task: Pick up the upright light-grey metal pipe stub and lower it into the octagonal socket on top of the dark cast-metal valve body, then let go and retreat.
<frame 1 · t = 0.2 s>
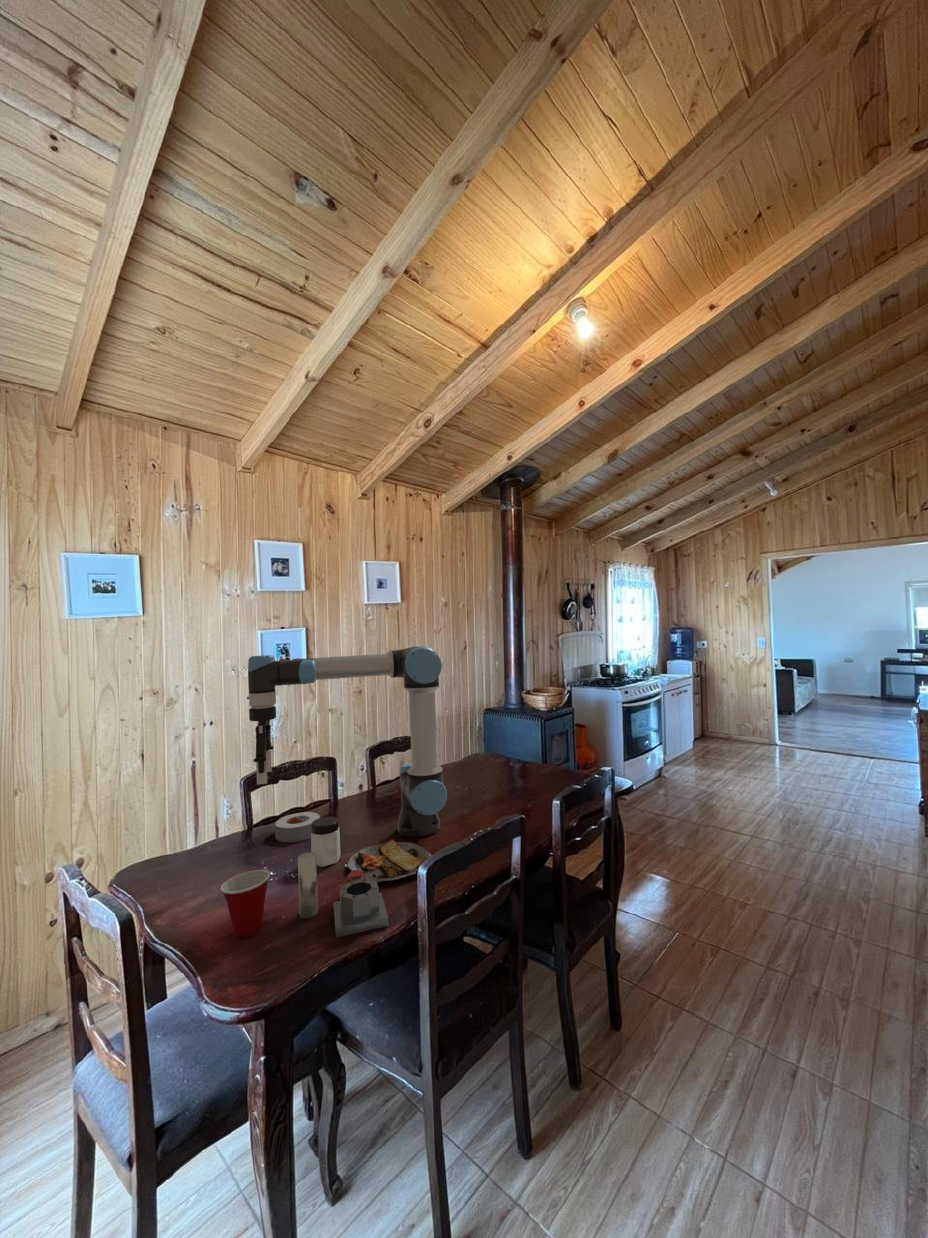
hand: (264, 777, 146), 28 cm above the table, fingers open, 13 cm apart
plastic cup: (246, 931, 115), on the table
food plate: (389, 866, 145), on the table
tape roll: (298, 834, 174), on the table
valve body: (360, 917, 118), on the table
pipe stub: (308, 913, 121), on the table
jar: (326, 861, 151), on the table
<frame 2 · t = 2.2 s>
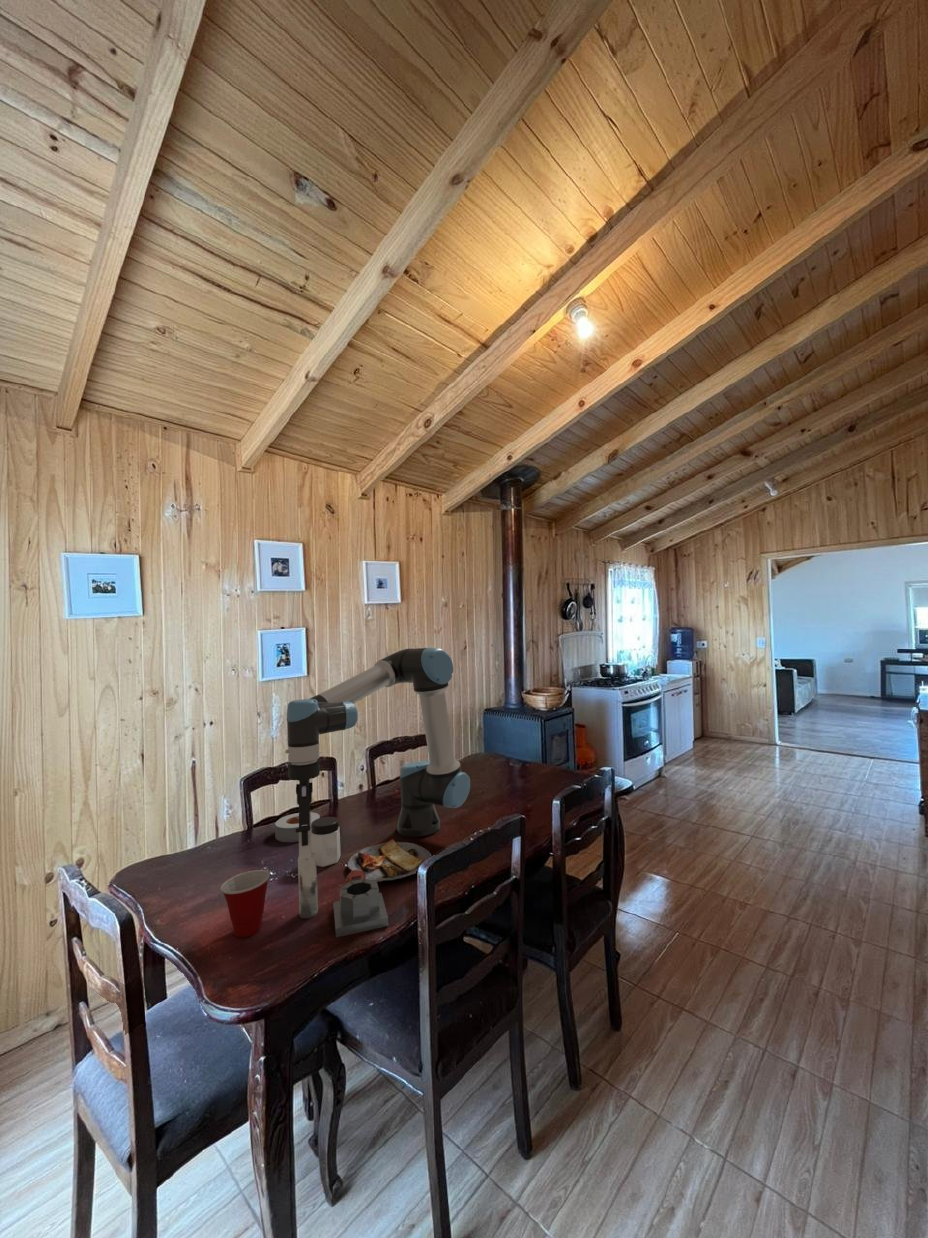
hand: (305, 847, 122), 16 cm above the table, fingers open, 13 cm apart
nothing on the table moved.
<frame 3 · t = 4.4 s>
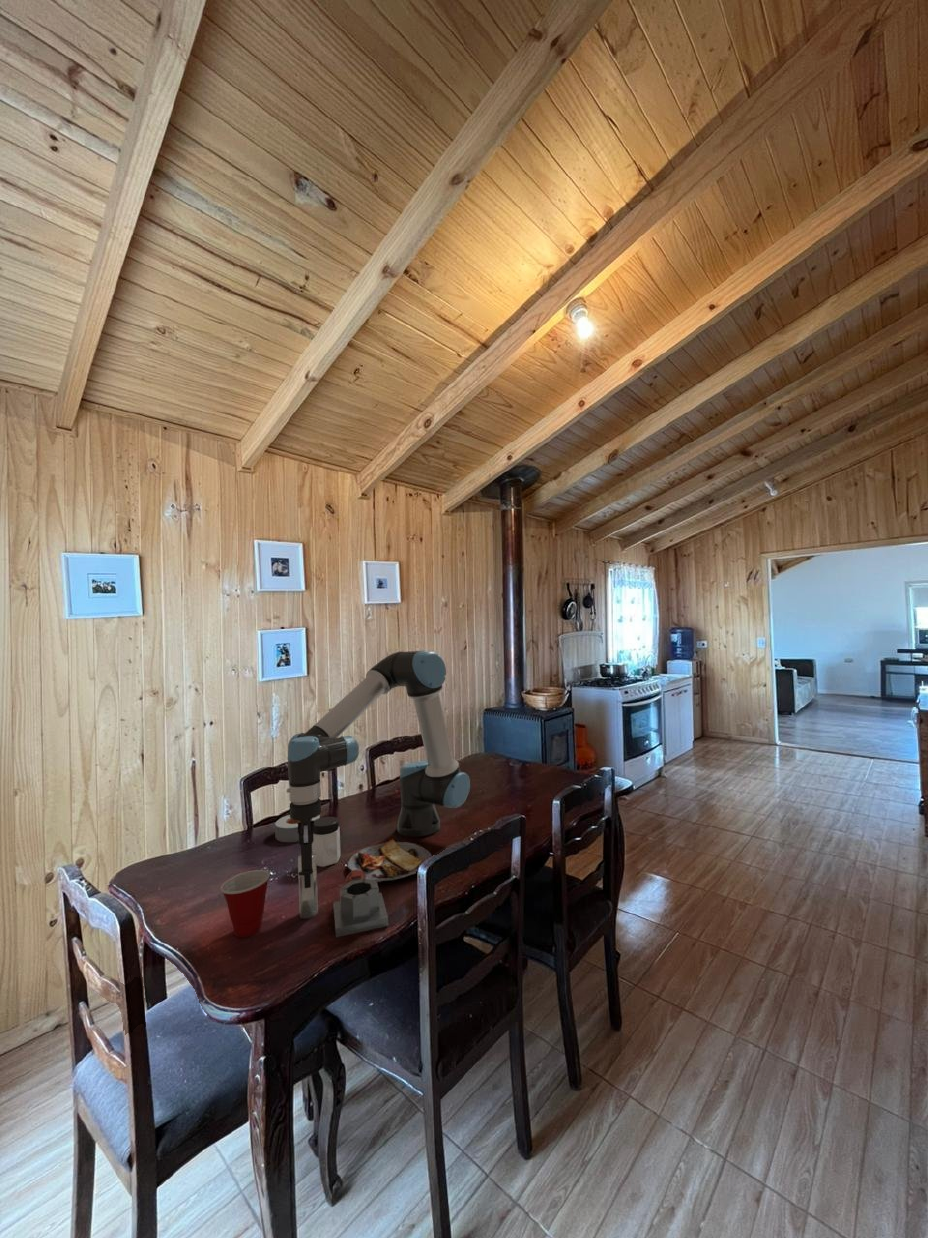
hand: (308, 894, 122), 5 cm above the table, fingers closed on pipe stub, 4 cm apart
pipe stub: (308, 913, 121), on the table, touching gripper
everything else where it was.
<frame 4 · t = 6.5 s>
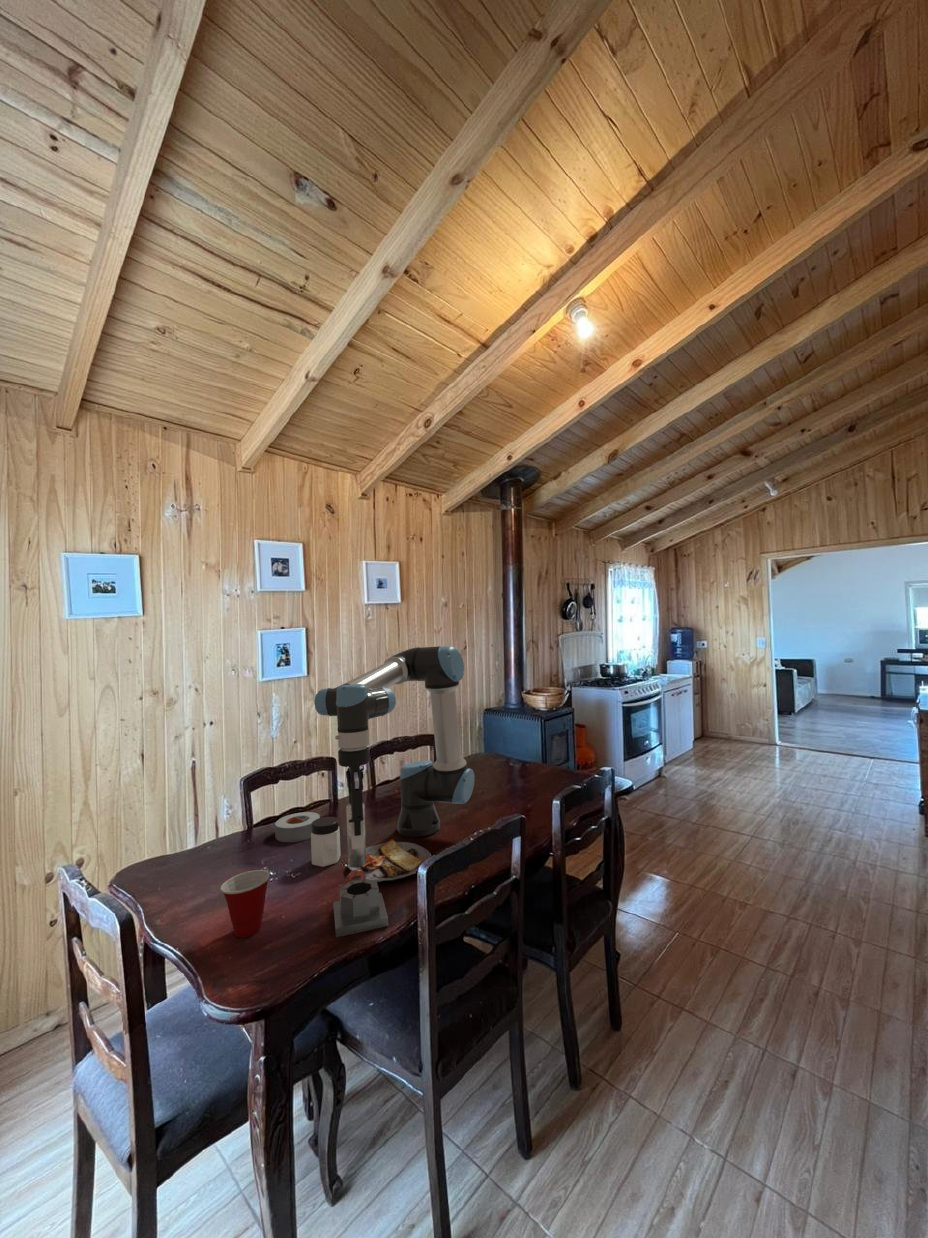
hand: (356, 843, 119), 18 cm above the table, fingers closed on pipe stub, 4 cm apart
pipe stub: (357, 863, 119), point 13 cm above the table, touching gripper
everything else where it was.
when the fingers open (9 cm above the table, at t = 8.6 s): pipe stub drops 2 cm, resting on valve body.
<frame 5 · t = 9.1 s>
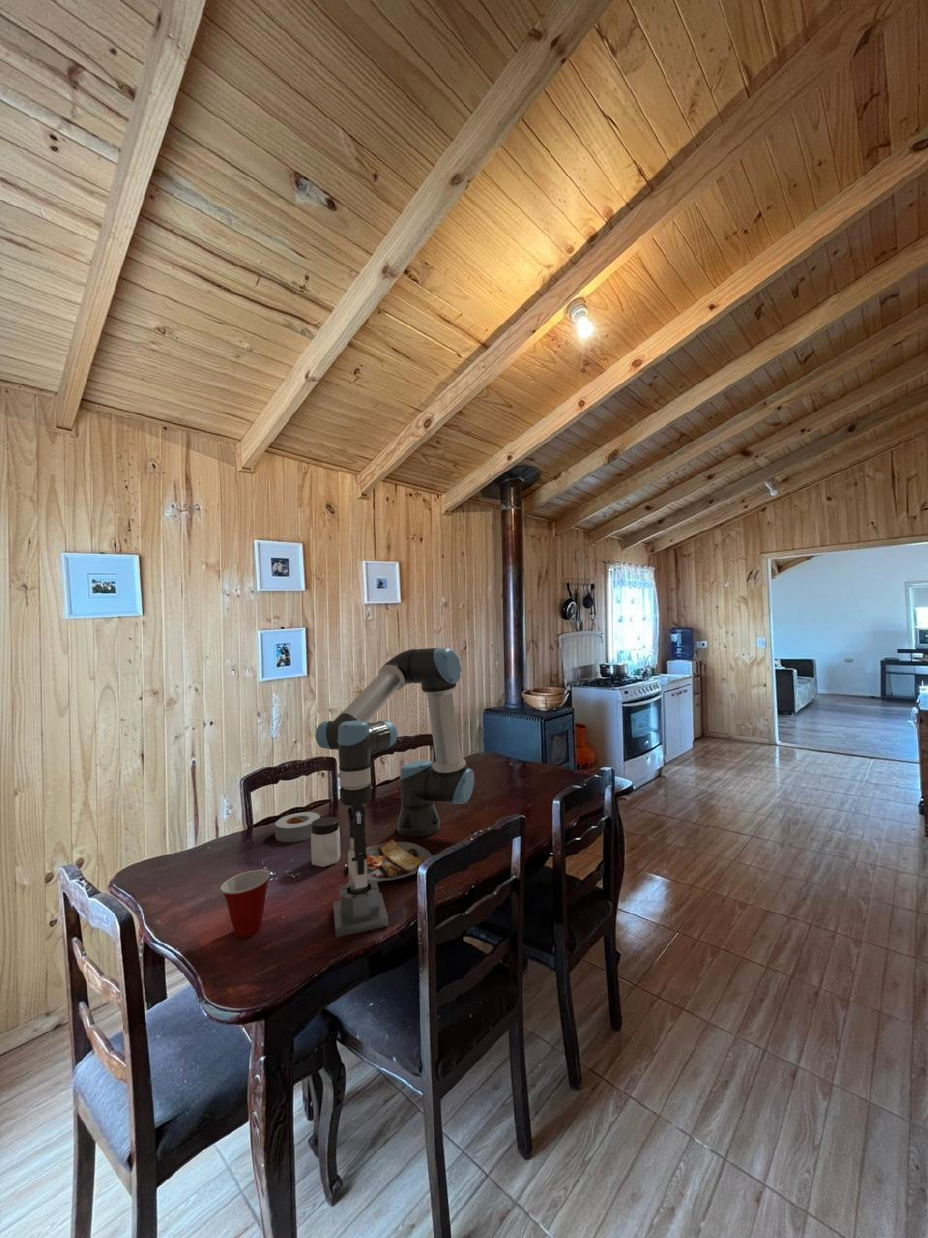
hand: (358, 874, 119), 10 cm above the table, fingers open, 12 cm apart
pipe stub: (359, 909, 119), point 2 cm above the table, touching valve body
everything else where it was.
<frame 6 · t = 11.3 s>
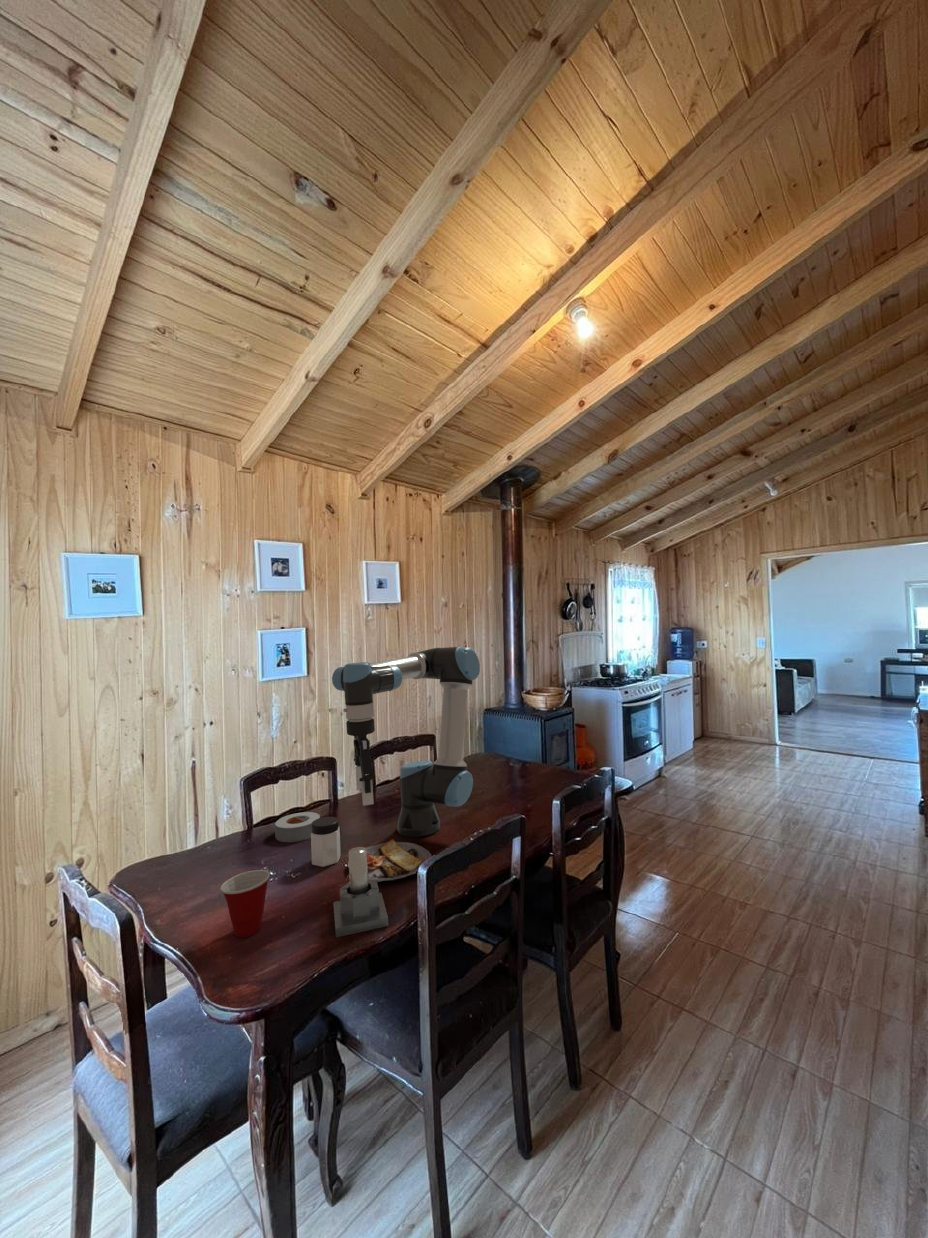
hand: (364, 796, 133), 25 cm above the table, fingers open, 13 cm apart
nothing on the table moved.
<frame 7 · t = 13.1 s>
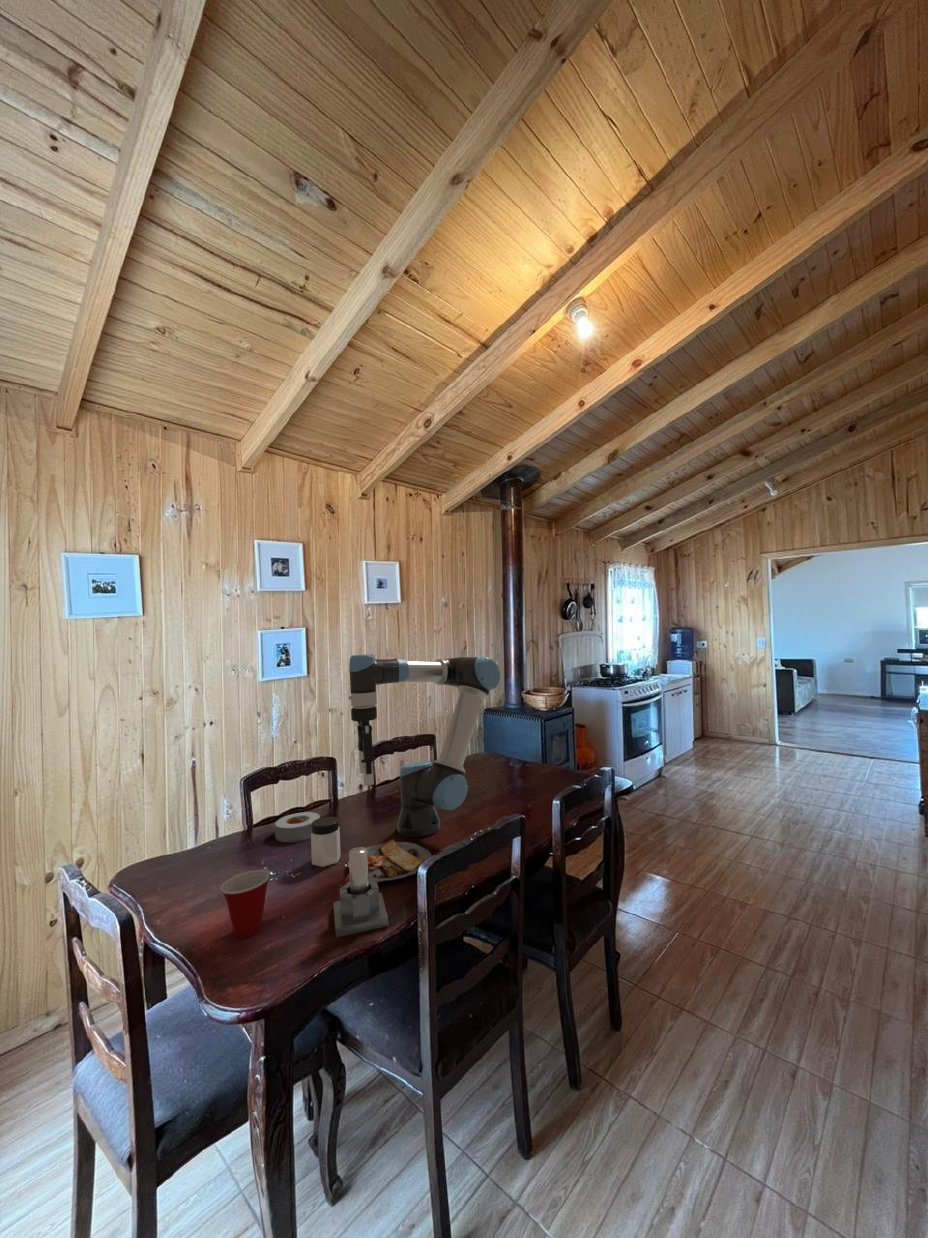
hand: (366, 778, 144), 27 cm above the table, fingers open, 13 cm apart
nothing on the table moved.
at the end: pipe stub 0.1 cm off-centre on the valve body, point 2.0 cm above the valve body's base; pipe stub tilted 1°; the gripper is holding nothing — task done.
